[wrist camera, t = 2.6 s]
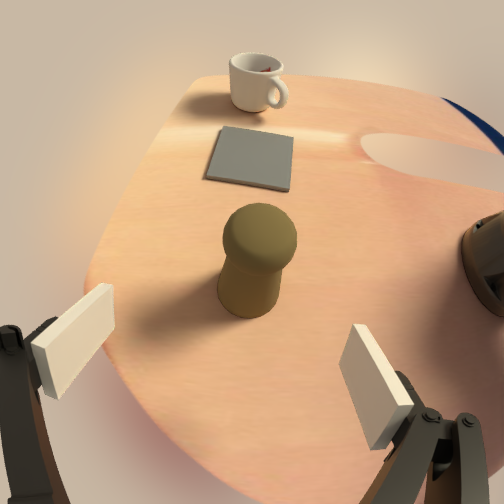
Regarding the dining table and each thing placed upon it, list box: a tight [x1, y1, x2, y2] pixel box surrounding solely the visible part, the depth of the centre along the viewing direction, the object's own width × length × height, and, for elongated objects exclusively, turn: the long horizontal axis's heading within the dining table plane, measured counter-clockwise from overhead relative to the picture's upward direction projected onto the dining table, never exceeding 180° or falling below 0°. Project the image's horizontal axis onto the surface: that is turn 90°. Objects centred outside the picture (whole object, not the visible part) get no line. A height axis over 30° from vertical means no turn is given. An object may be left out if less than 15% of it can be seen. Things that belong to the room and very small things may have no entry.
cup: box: [229, 53, 289, 112], centre depth 40 cm, size 11×8×8 cm
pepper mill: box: [217, 203, 297, 318], centre depth 24 cm, size 6×6×11 cm
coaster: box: [207, 126, 293, 192], centre depth 38 cm, size 10×10×1 cm
